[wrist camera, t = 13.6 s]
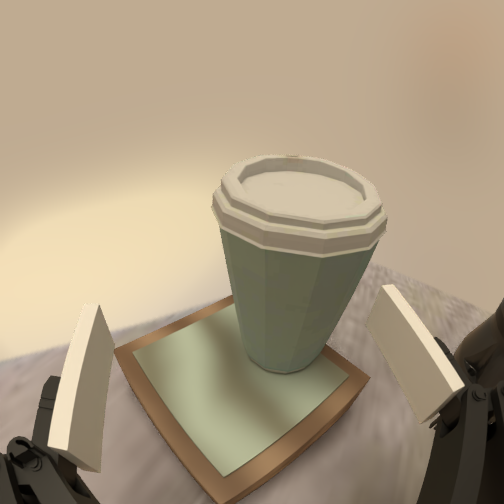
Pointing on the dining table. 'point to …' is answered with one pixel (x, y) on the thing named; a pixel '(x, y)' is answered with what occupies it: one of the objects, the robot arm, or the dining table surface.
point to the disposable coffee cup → (294, 251)
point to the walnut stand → (233, 400)
